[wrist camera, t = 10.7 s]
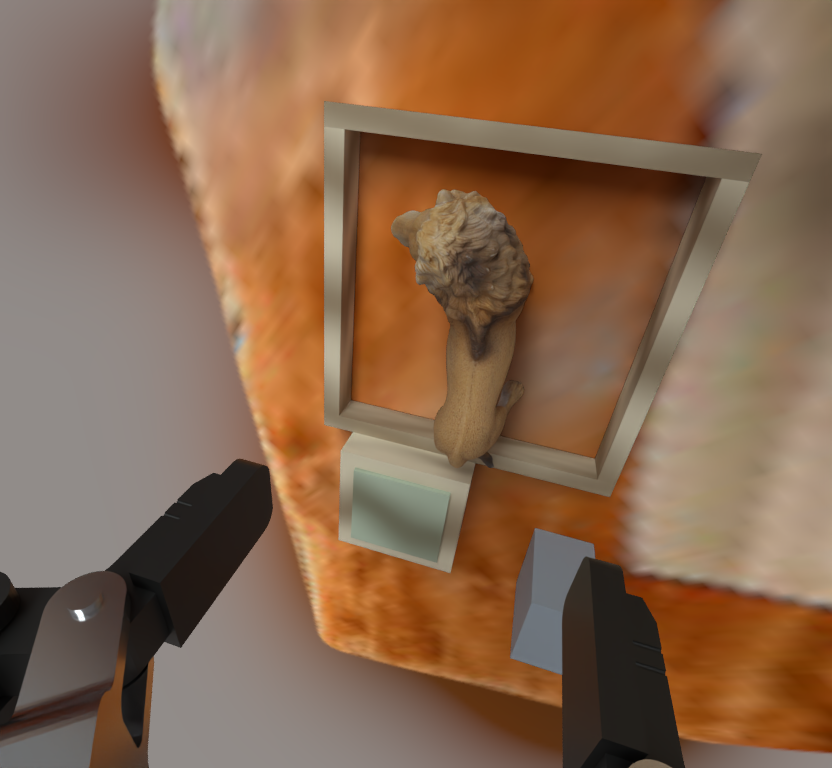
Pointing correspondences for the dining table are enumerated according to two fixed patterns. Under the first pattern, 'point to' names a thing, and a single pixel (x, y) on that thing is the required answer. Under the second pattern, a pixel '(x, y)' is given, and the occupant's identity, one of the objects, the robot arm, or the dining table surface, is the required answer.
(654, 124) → the dining table surface
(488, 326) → the lion figurine
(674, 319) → the grey rectangular frame
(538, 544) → the fin block
